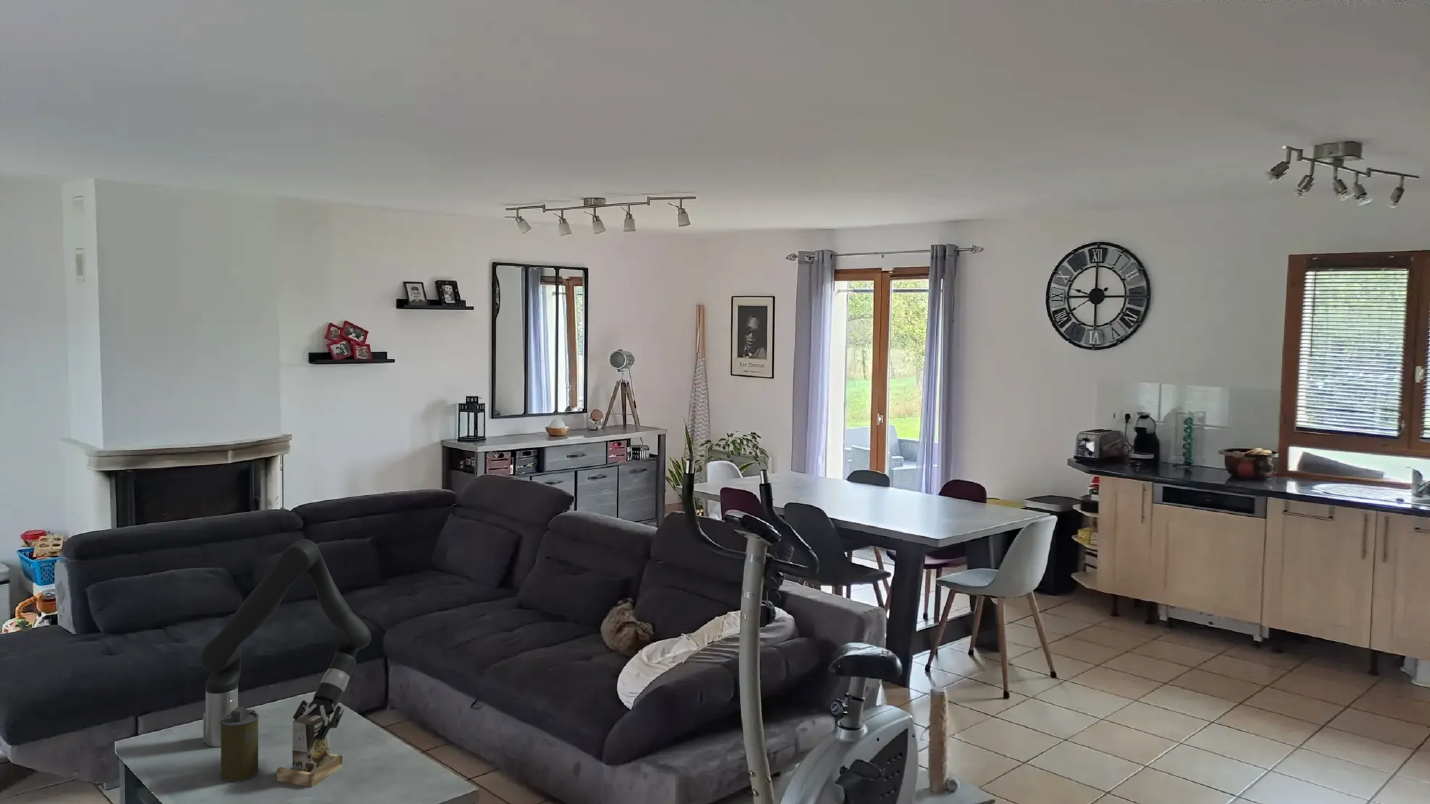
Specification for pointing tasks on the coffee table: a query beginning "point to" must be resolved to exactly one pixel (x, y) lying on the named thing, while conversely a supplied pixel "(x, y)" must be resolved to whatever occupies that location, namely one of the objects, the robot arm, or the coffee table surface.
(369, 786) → the coffee table surface
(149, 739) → the coffee table surface
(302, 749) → the coffee box
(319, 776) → the oak cradle
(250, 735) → the canister
